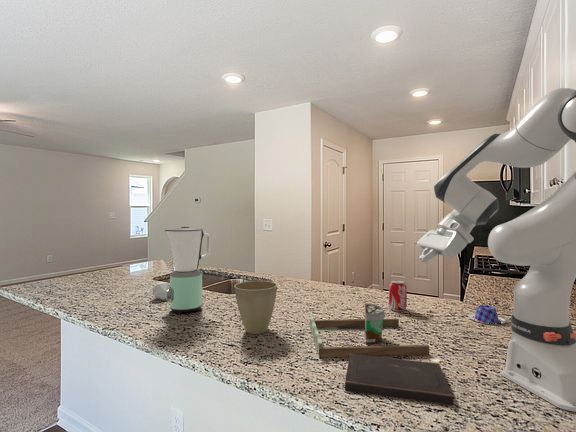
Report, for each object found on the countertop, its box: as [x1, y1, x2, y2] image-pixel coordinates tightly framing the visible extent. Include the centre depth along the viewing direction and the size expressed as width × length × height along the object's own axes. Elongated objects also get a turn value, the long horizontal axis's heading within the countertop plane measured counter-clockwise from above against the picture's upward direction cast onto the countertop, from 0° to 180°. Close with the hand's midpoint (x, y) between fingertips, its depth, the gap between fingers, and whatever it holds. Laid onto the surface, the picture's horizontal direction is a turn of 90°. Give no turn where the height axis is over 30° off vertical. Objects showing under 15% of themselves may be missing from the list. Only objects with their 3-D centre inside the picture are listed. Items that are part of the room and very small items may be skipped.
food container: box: [364, 302, 386, 346], centre depth 105 cm, size 12×6×10 cm, turn 168°
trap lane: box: [309, 315, 430, 358], centre depth 105 cm, size 24×32×4 cm
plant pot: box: [234, 280, 278, 335], centre depth 113 cm, size 15×15×16 cm
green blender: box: [164, 226, 212, 315], centre depth 137 cm, size 19×13×35 cm
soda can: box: [388, 279, 408, 313], centre depth 136 cm, size 7×7×12 cm
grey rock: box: [151, 281, 170, 301], centre depth 154 cm, size 8×9×10 cm
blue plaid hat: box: [468, 304, 506, 325], centre depth 123 cm, size 12×12×5 cm
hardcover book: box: [344, 354, 454, 406], centre depth 80 cm, size 16×23×2 cm
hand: (422, 260), depth 105 cm, fingers closed
